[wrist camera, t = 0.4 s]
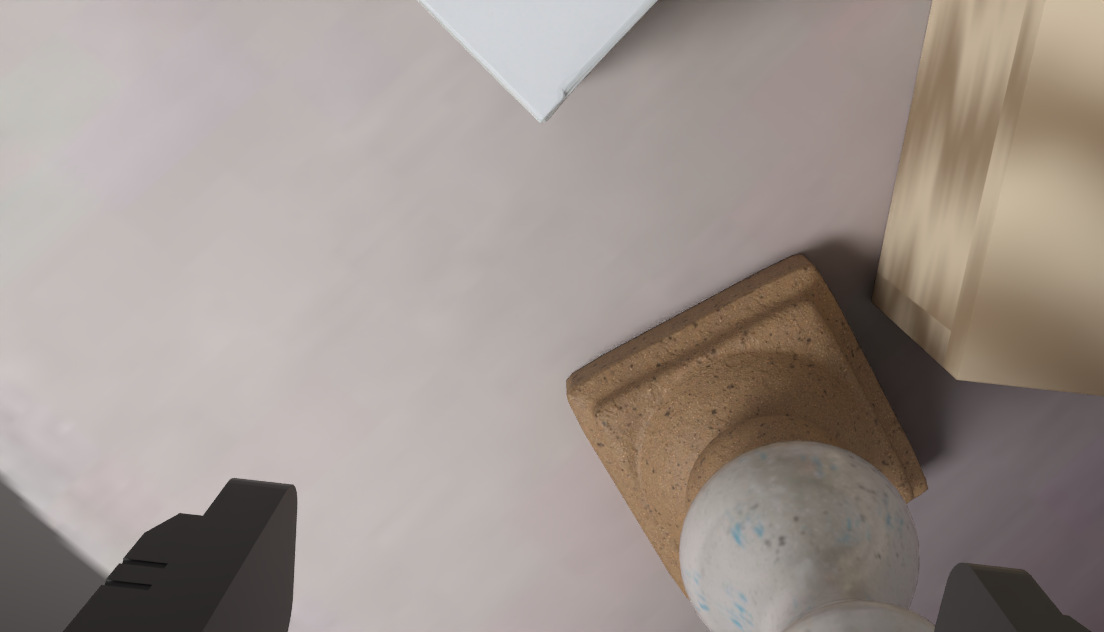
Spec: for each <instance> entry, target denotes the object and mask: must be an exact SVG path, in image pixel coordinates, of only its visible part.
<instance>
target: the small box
mask: <svg viewBox="0 0 1104 632" xmlns="http://www.w3.org/2000/svg"><path fill="white" fill-rule="evenodd" d="M417 1H418V2H419V3H420V4H421V5H422V6H423V7H424V8H425V9H426V10H427V11H428V12H429V13H430V14H431V15H432V16H433V17H434V18H435V19H436V20H437V21H438V22H439V23H440V24H441V25H442V26H443V27H444V28H445V29H446V30H447V31H448V32H449V33H450V34H451V35H452V36H453V37H454V38H455V39H456V40H457V41H458V42H459V43H460V44H461V45H462V46H463V47H464V48H465V49H466V50H467V51H468V52H469V53H470V54H471V55H472V56H473V57H474V58H475V59H476V60H477V61H478V62H479V63H480V64H481V65H482V66H483V67H484V68H485V69H486V70H487V71H488V72H489V73H490V74H491V75H492V76H493V77H494V78H495V79H496V80H497V81H498V82H499V83H500V84H501V85H502V86H503V87H504V88H505V89H506V90H507V91H508V92H509V93H510V94H511V95H512V96H513V97H514V98H515V99H516V100H517V101H518V102H519V103H520V104H521V105H522V106H523V107H524V108H525V109H526V110H527V111H528V112H529V113H530V114H531V115H532V116H533V117H534V118H535V119H536V120H538V121H539V122H541V123H543V122H546V121H547V120H548V119H549V118H550V117H551V116H552V115H553V114H554V112H555V111H556V110H557V109H558V108H559V106H560V105H561V104H562V103H563V102H564V101H565V99H566V98H567V97H568V96H569V95H570V94H571V93H572V91H573V90H574V89H575V88H576V87H577V86H578V85H579V84H580V83H581V81H582V80H583V79H584V78H585V77H586V76H587V75H588V74H589V73H590V72H591V71H592V70H593V68H594V67H595V66H596V65H597V64H598V63H599V62H600V61H601V60H602V59H603V58H604V57H605V56H606V55H607V54H608V53H609V51H610V50H611V49H612V48H613V47H614V46H615V45H616V44H617V43H618V42H619V41H620V40H621V39H622V38H623V37H624V36H625V35H626V34H627V33H628V31H629V30H630V29H631V28H632V27H633V26H634V25H635V24H636V23H637V22H638V21H639V20H640V19H641V18H642V17H643V16H644V15H645V14H646V13H647V12H648V10H649V9H650V8H651V7H652V6H653V5H654V4H655V3H656V2H657V1H658V0H417Z"/></svg>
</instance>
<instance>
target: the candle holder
mask: <svg viewBox="0 0 1104 632" xmlns="http://www.w3.org/2000/svg"><path fill="white" fill-rule="evenodd" d="M566 387H567V398H568V402H569V404H570V406H571V408H572V410H573V412H574V414H575V416H576V418H577V420H578V422H579V424H580V426H581V428H582V429H583V431H584V433H585V435H586V437H587V438H588V440H589V442H590V443H591V445H592V447H593V448H594V450H595V452H596V453H597V455H598V456H599V458H600V460H601V461H602V463H603V465H604V466H605V468H606V470H607V471H608V473H609V475H610V476H611V478H612V480H613V481H614V483H615V484H616V486H617V488H618V489H619V491H620V493H621V494H622V496H623V498H624V499H625V501H626V503H627V504H628V506H629V508H630V509H631V511H632V512H633V514H634V516H635V517H636V519H637V521H638V522H639V524H640V526H641V527H642V529H643V531H644V532H645V534H646V536H647V537H648V539H649V541H650V542H651V544H652V545H653V547H654V549H655V550H656V552H657V554H658V555H659V557H660V559H661V560H662V562H663V564H664V565H665V567H666V569H667V570H668V572H669V573H670V575H671V576H672V578H673V579H674V580H675V582H676V583H677V585H678V586H679V587H680V589H681V590H682V592H683V593H684V594H685V596H686V597H687V598H688V599H689V600H690V601H691V603H692V605H693V607H694V609H695V611H696V613H697V615H698V616H699V617H700V619H701V620H702V621H703V623H704V624H705V626H706V627H707V628H708V629H709V630H710V631H711V632H934V629H935V625H934V624H933V623H931V622H930V621H929V620H927V619H926V618H925V617H923V616H921V615H919V614H917V613H915V612H913V611H911V610H910V609H909V607H910V605H911V602H912V599H913V596H914V592H915V589H916V586H917V582H918V575H919V541H918V537H917V532H916V528H915V524H914V522H913V519H912V516H911V514H910V512H909V509H908V507H907V503H908V502H910V501H911V500H912V499H914V498H916V497H918V496H920V495H921V494H922V493H924V492H925V491H926V490H927V489H928V487H927V482H926V479H925V476H924V474H923V472H922V469H921V467H920V464H919V462H918V460H917V457H916V455H915V453H914V450H913V448H912V447H911V445H910V443H909V441H908V439H907V437H906V435H905V433H904V431H903V429H902V427H901V425H900V423H899V421H898V419H897V417H896V416H895V414H894V412H893V410H892V408H891V406H890V404H889V402H888V400H887V398H886V396H885V394H884V392H883V390H882V388H881V386H880V385H879V383H878V381H877V379H876V377H875V375H874V373H873V371H872V369H871V367H870V365H869V363H868V361H867V359H866V357H865V356H864V354H863V352H862V350H861V348H860V346H859V344H858V342H857V340H856V338H855V336H854V334H853V332H852V330H851V328H850V326H849V325H848V323H847V321H846V319H845V317H844V315H843V313H842V311H841V309H840V307H839V305H838V303H837V301H836V300H835V298H834V296H833V295H832V293H831V292H830V290H829V288H828V287H827V285H826V283H825V282H824V280H823V278H822V277H821V275H820V273H819V271H818V270H817V269H816V268H815V266H814V265H813V264H812V263H811V262H810V261H809V260H808V259H807V258H806V257H805V256H804V255H802V254H799V255H793V256H790V257H788V258H786V259H784V260H782V261H780V262H778V263H776V264H774V265H772V266H769V267H767V268H765V269H763V270H761V271H759V272H757V273H755V274H753V275H751V276H750V277H748V278H746V279H744V280H742V281H740V282H738V283H737V284H735V285H733V286H731V287H729V288H727V289H725V290H723V291H722V292H720V293H718V294H716V295H714V296H712V297H710V298H709V299H707V300H705V301H703V302H701V303H699V304H697V305H695V306H694V307H692V308H690V309H688V310H686V311H684V312H682V313H681V314H679V315H677V316H675V317H673V318H671V319H669V320H668V321H666V322H664V323H662V324H660V325H658V326H656V327H654V328H653V329H651V330H649V331H647V332H645V333H643V334H641V335H640V336H638V337H636V338H634V339H632V340H630V341H628V342H626V343H625V344H623V345H621V346H619V347H617V348H615V349H613V350H612V351H610V352H608V353H606V354H604V355H602V356H601V357H599V358H597V359H596V360H594V361H592V362H591V363H589V364H587V365H586V366H584V367H582V368H581V369H579V370H577V371H576V372H574V373H572V374H571V376H570V377H569V378H568V379H567V380H566Z"/></svg>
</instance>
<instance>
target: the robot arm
mask: <svg viewBox="0 0 1104 632" xmlns="http://www.w3.org/2000/svg"><path fill="white" fill-rule="evenodd" d="M296 521H297V492H296V488H295V486H294V485H291V484H282V483H274V482H265V481H256V480H247V479H238V478H232V479H230V480H229V481H228V483H227V484H226V485H225V487H224V488H223V489H222V491H221V492H220V493H219V495H218V496H217V498H216V499H215V500H214V502H213V503H212V504H211V506H210V507H209V508H208V510H207V511H206V512H205V514H204V515H203V516H200V515H191V514H182V513H179V514H178V515H176V516H174V517H172V518H170V519H169V520H167V521H165V522H163V523H161V524H160V525H158V526H156V527H154V528H152V529H151V530H149V531H147V532H145V533H144V534H143V535H142V536H141V538H140V539H139V540H138V541H137V542H136V544H135V545H134V546H133V547H132V549H131V550H130V551H129V552H128V553H127V555H126V556H125V557H124V558H123V563H122V564H118V566H117V567H116V568H115V569H114V570H113V572H112V573H111V574H110V575H109V576H108V578H107V579H106V583H105V585H101V586H100V588H99V589H98V590H97V591H96V592H95V593H94V595H93V596H92V597H91V598H90V600H89V601H88V602H87V603H86V604H85V606H84V607H83V608H82V609H81V610H80V612H79V613H78V614H77V615H76V617H75V618H74V619H73V620H72V621H71V623H70V624H69V625H68V626H67V627H66V629H65V630H64V631H63V632H288V627H289V623H290V617H291V610H292V602H293V584H294V563H295V542H296ZM934 632H1091V631H1090V630H1088V629H1087V628H1085V627H1084V626H1083V625H1081V624H1080V623H1078V622H1077V621H1076V620H1074V619H1073V618H1071V617H1070V616H1067V615H1063V614H1062V613H1061V612H1060V611H1059V610H1058V608H1057V607H1056V606H1055V605H1054V603H1053V602H1052V601H1051V600H1050V598H1049V597H1048V596H1047V595H1046V594H1045V592H1044V591H1043V590H1042V589H1041V587H1040V586H1039V585H1038V584H1037V583H1036V581H1035V580H1034V579H1033V578H1032V576H1031V575H1030V574H1029V573H1028V572H1026V571H1025V570H1022V569H1014V568H1006V567H997V566H988V565H979V564H971V563H959V564H957V565H956V566H955V567H954V568H953V569H952V571H951V573H950V575H949V577H948V580H947V583H946V587H945V591H944V595H943V599H942V602H941V606H940V610H939V614H938V618H937V622H936V625H935V629H934Z"/></svg>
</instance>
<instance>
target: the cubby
mask: <svg viewBox="0 0 1104 632" xmlns="http://www.w3.org/2000/svg"><path fill="white" fill-rule="evenodd" d="M871 302H872V303H873V304H874V305H875V306H877V307H878V308H879V309H880V310H881V311H882V312H883V313H884V314H885V315H886V316H888V317H889V318H890V319H891V320H892V321H893V322H894V323H895V324H896V325H897V326H898V327H900V328H901V329H902V330H903V331H904V332H905V333H906V334H907V335H908V336H909V337H910V338H912V339H913V340H914V341H915V342H916V343H917V344H918V345H919V346H920V347H921V348H922V349H924V350H925V351H926V352H927V353H928V354H929V355H930V356H931V357H932V358H933V359H935V360H936V361H937V362H938V363H939V364H940V365H941V366H942V367H943V368H944V369H945V370H947V371H948V372H949V373H950V374H951V375H952V376H953V377H954V378H955V379H956V380H963V381H972V382H981V383H990V384H999V385H1008V386H1017V387H1027V388H1036V389H1045V390H1054V391H1063V392H1072V393H1081V394H1090V395H1099V396H1104V0H933V1H932V6H931V11H930V15H929V20H928V25H927V30H926V35H925V40H924V45H923V50H922V55H921V59H920V64H919V69H918V74H917V79H916V84H915V89H914V94H913V99H912V104H911V108H910V113H909V118H908V123H907V128H906V133H905V138H904V143H903V148H902V152H901V157H900V162H899V167H898V172H897V177H896V182H895V187H894V192H893V197H892V201H891V206H890V211H889V216H888V221H887V226H886V231H885V236H884V241H883V245H882V250H881V255H880V260H879V265H878V270H877V275H876V280H875V285H874V290H873V294H872V299H871Z"/></svg>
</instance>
